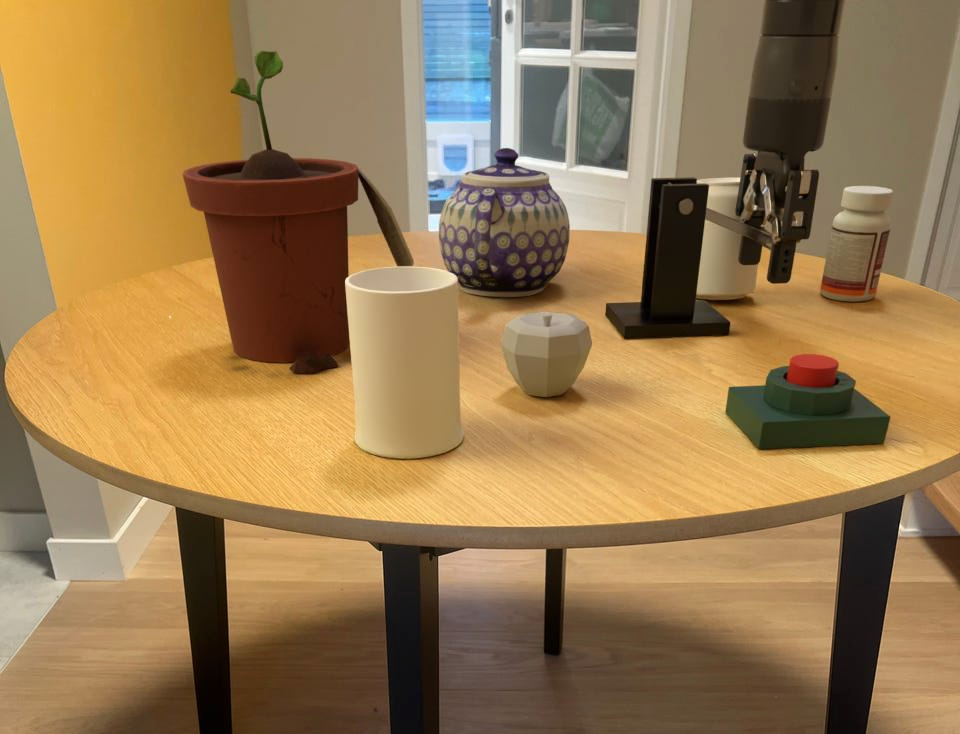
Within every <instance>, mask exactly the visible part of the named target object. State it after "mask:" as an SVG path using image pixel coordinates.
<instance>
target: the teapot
mask: <svg viewBox="0 0 960 734" xmlns="http://www.w3.org/2000/svg"><path fill="white" fill-rule="evenodd" d="M493 155H494V158H495V160H496V164H494V165H489V166H485V167H481V168H477V169H474V170H469V171H467V172H464V173H463V174H462V175H461V181H460V183H459V185H458V186H457V188H456V189H455V190H454V191H453V193H452V194H451V195H450V196H449V197H447V199H446V201H445V202H444V205H443V207H442V210H441V212H440V217H439V223H438V242H439V249H440V255H441V257H442V259H443V263H444V266H445V267H446V270H447V271H448V272H451V273H453V274H455V275H456V276H457V278H458V285H459V286H460V289H461V291H463V293H467V294H471V295H476V296H483V297H491V298H492V297H493V298H494V297H495V298H519V297H521V298H522V297H529V296H534V295H537V294H539V293H542V292H543V291H544V290H545V288H546V285H548V283H550V282H551V280H553V279H554V278H555V277H556V276H557V275H558V273H559V272H560V271H561V269H562V267H563V265H564V263H565V261H566V258H567V253H568V248H569V243H570V229H571V226H570V218H569V213H568V209H567V207H566V205H565V203H564V201H563V199H562V198H561V197H560V195H559V194H558V193H557V192H556V191H555V190H554V189H553V186H552V185H551V183H550V174H548V173H547V172H544V171H540V170H535V169H531V168H527V167H524V166H520V165H517V164H516V162H517V160H518V158H519V153H518V152H517V151H516V150H515V149H513V148H509V147H502V148H499V149H497V150H496V151H495V152H494V153H493Z"/></svg>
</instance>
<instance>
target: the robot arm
mask: <svg viewBox="0 0 960 734" xmlns="http://www.w3.org/2000/svg"><path fill="white" fill-rule="evenodd" d="M845 5H846V0H764V1H763V8H762V14H761V15H762V16H761V23H760V30H759V35H760V36H759V37H758V42H757V47H756V51H755V55H754V59H753V62H752V63H753V64H752V69H751V76H750V85H749V91H748V92H749V93H748V98H747V99H748V100H747V106H746V115H745V123H744V130H743V136H742V145H743V148H745V149H747V150H750V151H753V152H757V153H745V154H744V155H743V158H742V165H741V171H740V177H739V178H740V184H739V190H738V197H737V203H736V209H735V212H736V216H741V217H740V222H742V223H745V224H747V225H750V226H752V227H754V228H757V229H759V230H760V229H762V228H766V227H765V226H764V225H766V223H767V222H768V223H770V225H771V231H772V236H773V243H772V247H771V250H770V254H769V260H768V266H767V274H766V281H767V282H769V283H770V284H772V285H775V284H776V285H777V284H779V285H780V284H781V285H782V284H788V283H789V282H790V281H791V278H792V273H793V268H794V267H793V266H794V260H795V256H796V255H795V254H796V248H797V244H800V242H801V241H802V240H808V239H810V236H811V232H812V225H813V220H814V219H813V218H814V212H815V204H816V199H817V192H818V186H819V181H820V180H819V179H820V171H819V169H805V161H806V159H805V157H806V155H807V154H808V153H809V152H810V153H811V152H817V151H819V150H820V149H821V148H822V147H823V145H824V141H825V135H826V131H827V130H826V129H827V126H828V125H827V124H828V119H829V114H830V108H831V103H832V102H831V101H832V97H833V96H832V95H833V91H834V84H835V80H836V79H835V78H836V73H837V66H838V56H839V55H838V53H839V40H840V33H841V28H842V27H841V26H842V22H843V17H844V9H845ZM801 218H802V220H801ZM761 225H762V227H761ZM762 251H763V246H762V245H761V244H759V243H758V242H757V241H756V240H753V239H751V238H748V237H746V236H744V235H742V236H741V243H740V250H739V257H738V262H739V263H740V264H742V265H757V264H758V265H759V263H760V262H761V258H762V253H763V252H762Z"/></svg>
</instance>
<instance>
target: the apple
mask: <svg viewBox="0 0 960 734" xmlns="http://www.w3.org/2000/svg"><path fill="white" fill-rule="evenodd" d="M499 345H500V348H501V351H502V355H503V358H504V362H505V364H506V368H507V369H508V371H509V373H510V375H511V377H512V379H513V381H514V382H515V383H516V385H517V386H518V387H519V388H520V389H521V390H522V391H523V392H525V393H526V394H528V395H529V396H535V397H541V398H551V397H557V396H562V395H563V394H564V393H566V391H567V390H569V388H570V387H571V386H573V385H574V383H575V382H576V381H577V379H578V377H579V376H580V374H581V373H582V371H583V370H584V368H585V365H586V363H587V361H588V358H589V356H590V352H591V349H592V346H593V340H592V335H591V331H590V325H589V324H588V323H586V321H585V320H582V319H580V318H579V317H577V316H575V315H574V314H570V313H563V312H553V311H539V312H532V313H531V312H530V313H522V314H518V316H515V317H514V318H513V319H511V320H510V321H509V322H508V323H506V324H505V326H504V329H503V333H502V336H501V340H500V344H499Z"/></svg>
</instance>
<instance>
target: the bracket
mask: <svg viewBox="0 0 960 734" xmlns="http://www.w3.org/2000/svg"><path fill="white" fill-rule="evenodd" d="M697 180H698V178H697V177H695V176H694V177H693V176H692V177H690V176H689V177H688V176H687V177H652V178H651V182H650V192H649V203H648V213H647V216H648V217H647V225H646V227H647V228H646V237H645V249H644V259H643V271H642V284H641V295H640V301H629V302H628V301H627V302H624V301H623V302H606V303H605V314H604V315H605V316H606V318H607V319H608V320H609V322H610V323H611V324H612V326H613V327H614V328H615V329H616V330H617V332H618V333H619V334H620V336H621V337H622V339H624V340H626V339H627V340H629V339H631V340H632V339H655V338H658V339H659V338H682V337H686V338H687V337H709V336H710V337H711V336H730V330H731V321H730V320H729V319H727V318H726V317H725V316H724V315H723V314H722V313H721V312H719V311H718V310H717V309H716V308H715V307H713V305H711V304H710V303H709V302H707V300H706V299H697V298H696V293H697V284H698V276H699V267H700V259H701V250H702V242H703V234H704V225H705V217H706V208H707V200H708V191H709V185H708V184H706V183H705V184H696V183H697ZM668 182H669V183H671V184H667V183H668ZM660 200H661V202H660ZM659 202H660V208H658V204H659Z"/></svg>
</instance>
